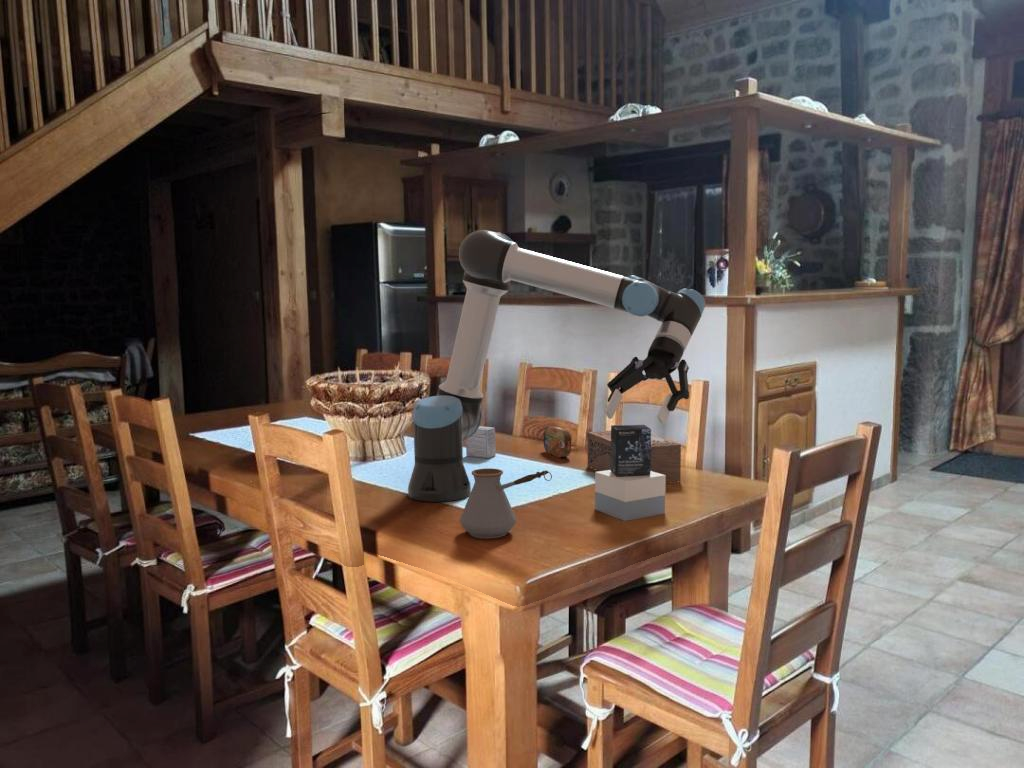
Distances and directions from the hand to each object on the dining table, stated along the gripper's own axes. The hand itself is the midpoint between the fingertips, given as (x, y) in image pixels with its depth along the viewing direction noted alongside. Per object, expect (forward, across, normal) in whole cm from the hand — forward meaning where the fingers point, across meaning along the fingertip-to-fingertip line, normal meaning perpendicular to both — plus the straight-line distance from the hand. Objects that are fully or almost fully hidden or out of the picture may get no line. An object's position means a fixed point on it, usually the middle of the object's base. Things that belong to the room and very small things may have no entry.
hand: (633, 418), depth 184 cm
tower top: (+12, 0, -11) cm, 17 cm away
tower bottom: (+16, 0, -14) cm, 21 cm away
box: (+10, 0, -8) cm, 13 cm away
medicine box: (-2, +68, -32) cm, 75 cm away
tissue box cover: (-7, +20, -37) cm, 43 cm away
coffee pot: (+38, +9, +8) cm, 40 cm away
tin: (-12, +51, -42) cm, 68 cm away
